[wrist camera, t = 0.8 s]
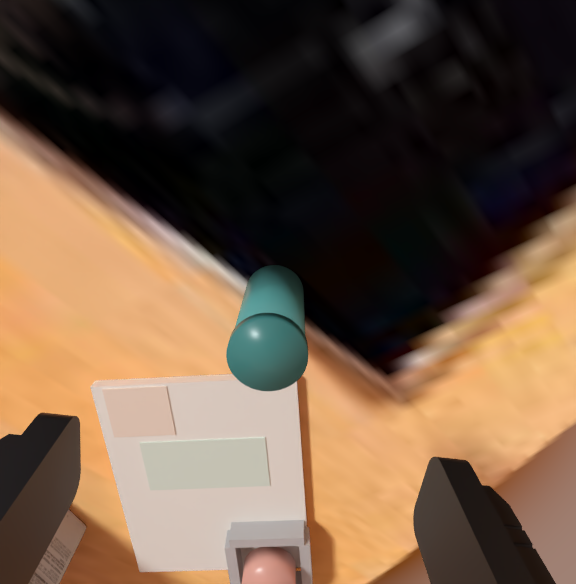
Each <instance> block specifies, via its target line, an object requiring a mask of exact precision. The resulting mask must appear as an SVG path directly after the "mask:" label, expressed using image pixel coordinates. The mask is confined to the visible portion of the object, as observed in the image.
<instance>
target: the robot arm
mask: <svg viewBox="0 0 576 584" xmlns="http://www.w3.org/2000/svg"><path fill="white" fill-rule="evenodd" d="M80 471H81V465H80V422H79V418H78V417H77V416H68V415H59V414H50V413H40V414H39V415H38V416H37V417H36V418H35V419H34V420H33V421H32V423H31V424H30V425H29V426H28V428H27V429H26V430H25V431H24V432H23V434H22V435H14V434H8V435H7V436H5V437H3V438H2V439H0V584H29V582H30V580H31V578H32V576H33V574H34V572H35V571H36V569H37V567H38V565H39V563H40V561H41V559H42V558H43V556H44V554H45V552H46V550H47V548H48V546H49V545H50V543H51V541H52V539H53V537H54V535H55V533H56V532H57V530H58V528H59V526H60V524H61V522H62V521H63V519H64V517H65V515H66V513H67V511H68V509H69V508H70V506H71V504H72V502H73V500H74V497H75V495H76V492H77V489H78V485H79V480H80ZM414 531H415V536H416V539H417V542H418V546H419V549H420V552H421V555H422V558H423V561H424V564H425V567H426V570H427V573H428V576H429V579H430V582H431V584H556V583H555V581H554V580H553V578H552V576H551V575H550V573H549V571H548V570H547V568H546V566H545V565H544V563H543V561H542V559H541V558H540V556H539V554H538V553H537V551H536V549H533V548H532V543H531V541H530V539H529V538H528V536H527V534H526V532H525V531H523V530H522V526H521V524H520V522H519V521H518V519H517V517H516V516H515V514H514V512H513V511H512V509H511V507H510V506H509V504H508V503H507V502H506V501H505V500H503V499H502V498H501V497H500V496H499V495H498V494H497V493H496V492H495V491H494V490H493V489H492V488H491V487H490V486H483V485H481V483H480V481H479V479H478V477H477V476H476V474H475V472H474V470H473V468H472V467H471V465H470V463H469V462H468V461H466V460H459V459H450V458H441V457H433V458H431V460H430V461H429V464H428V467H427V470H426V473H425V476H424V479H423V482H422V486H421V489H420V492H419V495H418V498H417V501H416V505H415V509H414Z"/></svg>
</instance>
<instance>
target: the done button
mask: <svg viewBox="0 0 576 584" xmlns="http://www.w3.org/2000/svg"><path fill="white" fill-rule="evenodd" d="M242 584H296V563H295V559H294V558H293V556H292V555H291V554H290V553H289V552H288V551H286V550H284V549H282V548H279V547H259V548H256V549H254V550H252V551H251V552H250V553H248V555H247V556H246V558H245V560H244V568H243V577H242Z"/></svg>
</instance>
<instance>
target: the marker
mask: <svg viewBox="0 0 576 584" xmlns="http://www.w3.org/2000/svg"><path fill="white" fill-rule="evenodd" d="M227 362H228V366H229V368H230V370H231V372H232V373H233V375H234V376H235V377H236V378H237V379H238V380H239V381H240V382H241V383H243V384H244V385H246V386H248V387H250V388H252V389H255V390H259V391H277V390H281V389H284V388H287V387H289V386H291V385H292V384H294V383H295V382H296V381H297V380H298V379H299V378H300V377H301V376H302V374H303V373H304V371H305V369H306V366H307V362H308V346H307V340H306V337H305V319H304V292H303V285H302V283H301V280H300V279H299V277H298V276H297V275H296V274H295V273H294V272H293V271H292V270H290V269H288V268H286V267H283V266H278V265H270V266H266V267H263V268H261V269H259V270H257V271H256V272H255V273H254V274H253V275H252V276H251V277H250V279H249V281H248V283H247V287H246V290H245V294H244V298H243V301H242V305H241V308H240V312H239V316H238V319H237V323H236V326H235V329H234V330H233V332H232V334H231V337H230V340H229V344H228V347H227Z"/></svg>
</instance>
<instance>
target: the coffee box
mask: <svg viewBox="0 0 576 584" xmlns="http://www.w3.org/2000/svg"><path fill="white" fill-rule="evenodd" d="M85 530H86V526H85V524H84V523H82V522H81V521H80V520H79V519H78V518H77V517H76V516H75V515H74V514H73V513H72V512H71V511H70V510H69V509H68V511H67V513H66V515H65V517H64V519H63V521H62V522H61V524H60V526H59V528H58V530H57V532H56V533H55V535H54V537H53V539H52V541H51V543H50V545H49V546H48V548H47V550H46V552H45V554H44V556H43V558H42V559H41V561H40V563H39V565H38V567H37V569H36V571H35V572H34V574H33V576H32V578H31V580H30V582H29V584H60V582H61V579H62V577H63V575H64V573H65V571H66V569H67V567H68V565H69V564H70V561H71V559H72V557H73V555H74V553H75V551H76V549H77V547H78V545H79V543H80V541H81V539H82V537H83V535H84V533H85Z"/></svg>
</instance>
